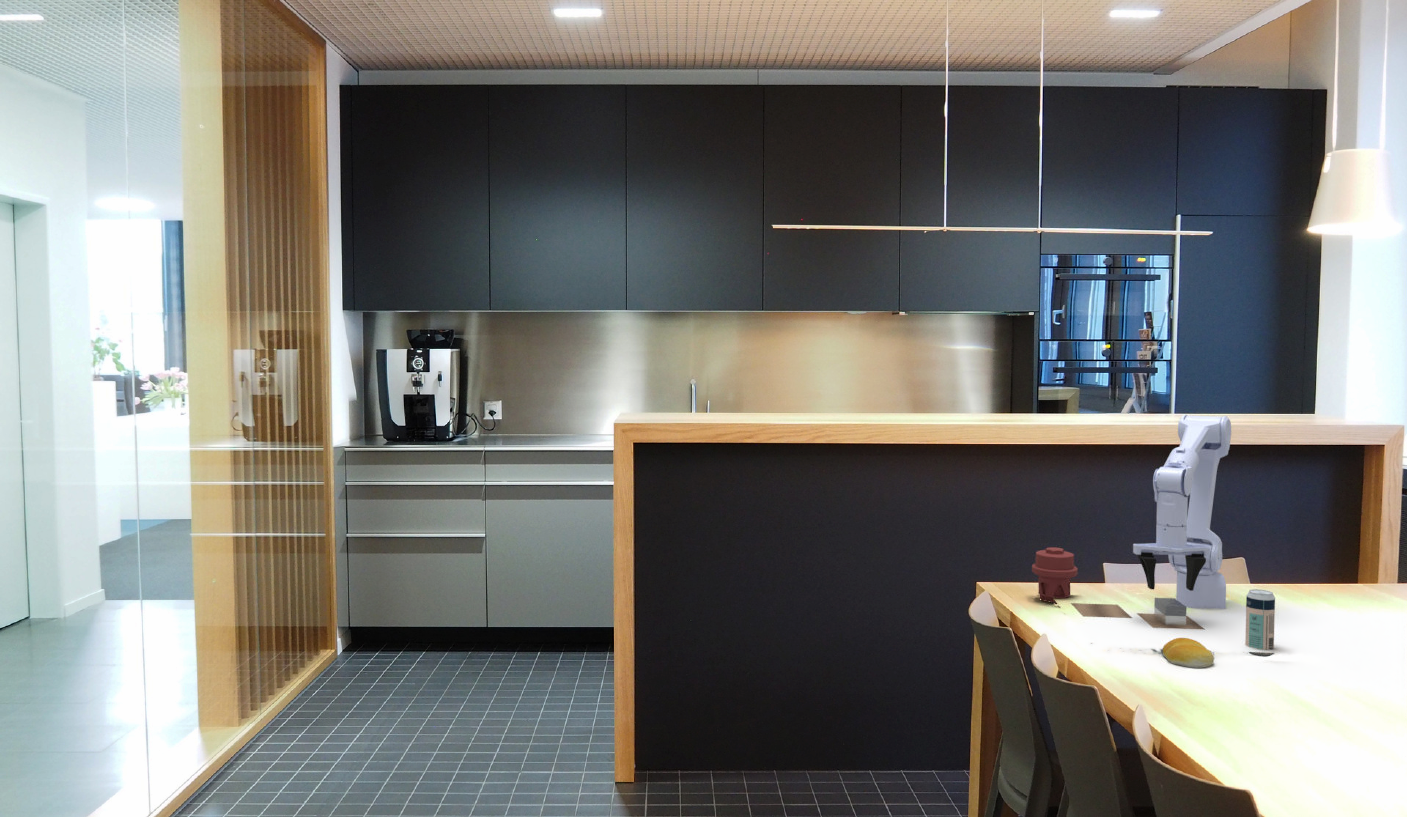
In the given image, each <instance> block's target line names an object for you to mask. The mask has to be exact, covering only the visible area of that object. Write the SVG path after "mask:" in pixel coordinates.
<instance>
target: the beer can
mask: <svg viewBox="0 0 1407 817" xmlns="http://www.w3.org/2000/svg"><path fill="white" fill-rule="evenodd" d="M1245 600H1246V602H1245V603H1246V604H1245V640H1244V641H1245V644H1244V645H1245V646H1246V647H1248V648H1251V649H1255V650H1260V651H1248V654H1250V655H1253V656H1255V657H1265V658H1266V657H1270V656H1272V655H1274V654H1275V652H1265V651H1269V650H1274V649H1275V615H1276V614H1275V612H1276V597H1275V595H1274V593H1273V592H1272V591H1270V590H1265V589H1257V588H1255V589H1249V591H1248V592H1247V593H1246V599H1245ZM1261 650H1264V652H1263V651H1262V652H1261Z"/></svg>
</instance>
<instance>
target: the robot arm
mask: <svg viewBox="0 0 1407 817" xmlns="http://www.w3.org/2000/svg"><path fill="white" fill-rule="evenodd" d="M1177 434H1178V439H1179V440H1180V444H1179V446H1178V447H1175V448H1173V449H1172V450H1171V452H1170V453H1169V455H1168V457H1167V459H1166V461H1165V463H1164V465H1163V466H1160V467H1159V468H1156V469H1155V471H1154V473H1153V478H1152V486H1153V487H1152V488H1153V491H1154V502H1156V530H1155V531H1156V538H1155V543H1153V542H1150V543H1133V544H1132V553H1133V554H1135V555H1136V556H1137V559H1138V560H1139V562H1140V564H1141V566H1142V567H1141V568H1142V569H1143V572H1144V575H1145V578H1146V583H1147V588H1148V589H1150V590H1155V587H1156V584H1155V583H1156V579H1155V575H1156V565H1157V559H1156V558H1155V556H1154V555H1166V556H1167V555H1168V562H1169V564H1170V565H1171V567H1173V568H1174V572H1176V590H1175V591H1176V592H1175V596H1176V597H1175V599H1176V600H1178V601H1179V602H1180V603H1182V604H1183V605H1184V606H1186V608H1188V609H1197V610H1198V609H1202V610H1203V609H1217V610H1218V609H1220V610H1222V609H1223V610H1226V607H1227V606H1226V604H1227V602H1226V601H1227V583H1226V579H1225V576H1224V575H1223V574H1222V572H1220V569H1221V567H1222V562H1223V542H1222V540H1221V537H1219V535H1217V534H1216V533H1215V532H1214V531H1212V530H1211V521H1212V515H1213V514H1212V513H1213V504H1214V496H1215V489H1216V481H1217V473H1218V472H1217V471H1218V466H1219V464H1220V460H1221V458H1224V457H1226V456H1228V455H1229V450H1230V447H1231V446H1230V445H1231V441H1232V440H1231V437H1232V422H1231V419H1230V418H1229V417H1228V416H1226V415H1223V416H1213V415H1212V416H1210V415H1208V416H1207V415H1206V416H1205V415H1187V414H1183V415H1182V416H1181V417H1180V418H1179V420H1178V425H1177ZM1188 499H1189V502H1188Z"/></svg>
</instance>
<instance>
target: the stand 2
mask: <svg viewBox="0 0 1407 817" xmlns="http://www.w3.org/2000/svg"><path fill="white" fill-rule="evenodd" d="M1136 615H1138V616H1139V617H1140V618H1141V619H1142V620H1144V621H1145V623H1147V624H1149V626H1150V627H1152V628H1154V629H1155V628H1156V629H1181V630H1206V629H1205V628H1204V627H1203V626H1202V625H1200V624H1199V623H1198V622H1196V621H1195V620H1193V619H1192V618H1191V617H1189V616H1188V615H1187V614H1186V626H1171V625H1164V624H1163V623H1162V622H1161V621H1159V620H1158V619H1157V618H1156V617H1155V616H1154V613H1145V612H1144V613H1140V612H1139V613H1138V612H1137V613H1136Z"/></svg>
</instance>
